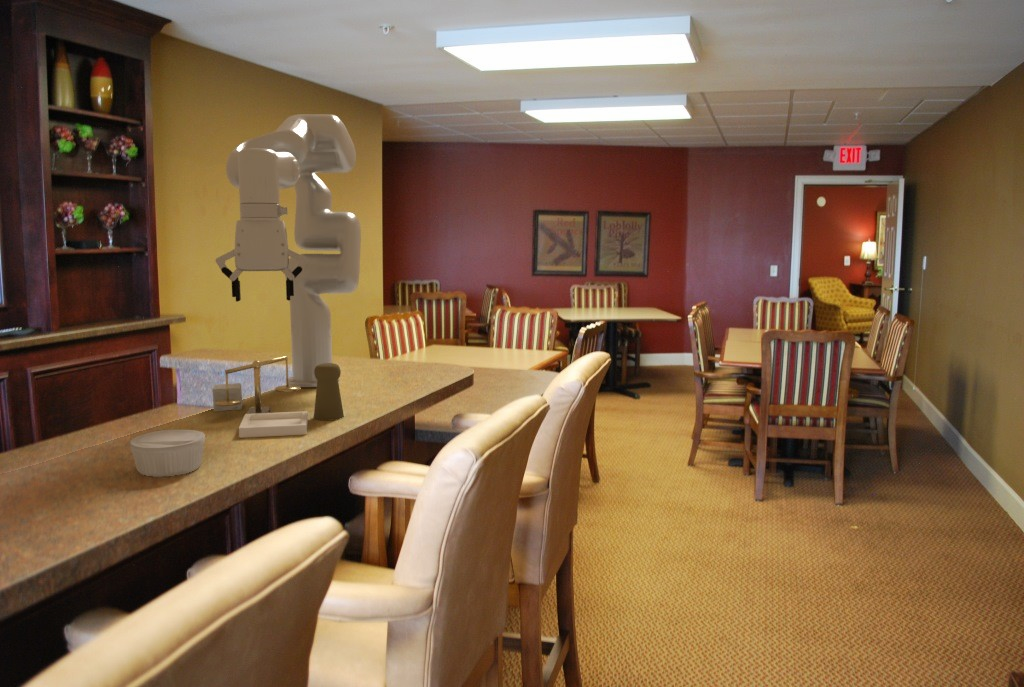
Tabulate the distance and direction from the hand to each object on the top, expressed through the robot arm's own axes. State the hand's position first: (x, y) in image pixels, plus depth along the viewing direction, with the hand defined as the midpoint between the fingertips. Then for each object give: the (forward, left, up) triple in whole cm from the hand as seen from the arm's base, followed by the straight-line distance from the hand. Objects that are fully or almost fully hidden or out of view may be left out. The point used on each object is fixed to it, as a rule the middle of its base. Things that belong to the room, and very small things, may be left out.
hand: (263, 300), depth 168 cm
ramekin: (+35, -13, -24) cm, 44 cm away
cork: (+2, +12, -24) cm, 27 cm away
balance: (-2, -2, -24) cm, 24 cm away
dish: (+10, +2, -24) cm, 26 cm away
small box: (-11, -9, -24) cm, 28 cm away
